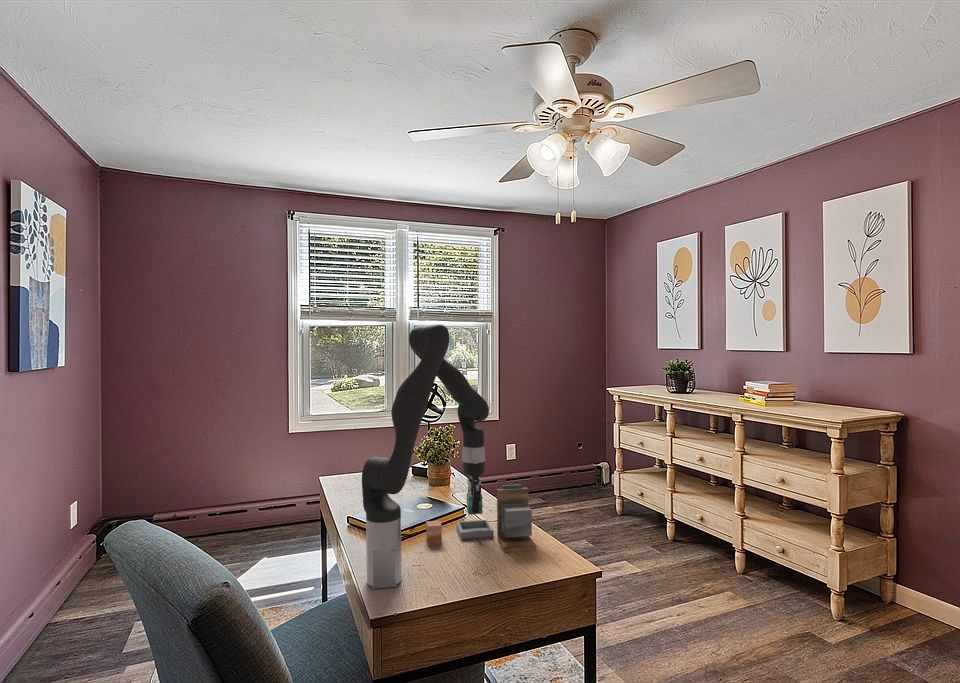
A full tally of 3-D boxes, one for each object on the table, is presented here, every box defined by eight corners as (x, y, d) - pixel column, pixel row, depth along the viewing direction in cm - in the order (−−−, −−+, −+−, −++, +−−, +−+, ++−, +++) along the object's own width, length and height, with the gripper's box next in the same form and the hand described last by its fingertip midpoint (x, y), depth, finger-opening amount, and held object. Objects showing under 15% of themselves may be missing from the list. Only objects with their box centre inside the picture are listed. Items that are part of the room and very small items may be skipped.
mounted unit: (536, 549, 174) (535, 492, 174) (504, 552, 172) (503, 494, 172) (527, 537, 185) (526, 483, 184) (497, 539, 183) (496, 485, 183)
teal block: (482, 513, 187) (482, 495, 187) (469, 514, 187) (468, 496, 186) (480, 509, 192) (479, 491, 192) (466, 510, 191) (466, 492, 191)
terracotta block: (441, 544, 180) (441, 525, 180) (427, 545, 179) (427, 526, 179) (440, 539, 184) (440, 520, 184) (426, 540, 183) (426, 521, 183)
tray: (493, 537, 185) (493, 530, 185) (461, 540, 183) (461, 532, 183) (487, 526, 195) (487, 519, 195) (456, 528, 193) (456, 521, 193)
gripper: (459, 455, 195) (460, 504, 195) (465, 465, 181) (466, 518, 181) (481, 454, 196) (481, 503, 197) (489, 463, 182) (489, 516, 183)
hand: (474, 510), depth 189 cm, fingers closed on teal block, 4 cm apart
